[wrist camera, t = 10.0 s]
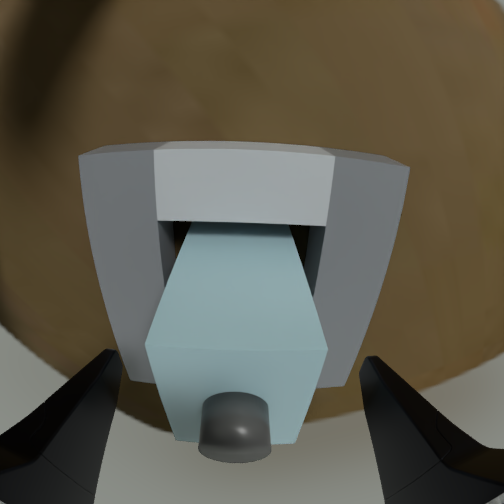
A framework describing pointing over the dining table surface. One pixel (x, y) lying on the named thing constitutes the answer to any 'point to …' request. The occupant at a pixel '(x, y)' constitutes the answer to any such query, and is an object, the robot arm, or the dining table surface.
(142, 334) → the socket block
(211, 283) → the plug
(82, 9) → the dining table surface
